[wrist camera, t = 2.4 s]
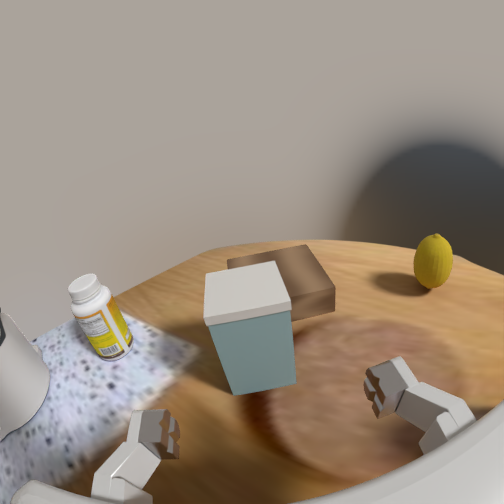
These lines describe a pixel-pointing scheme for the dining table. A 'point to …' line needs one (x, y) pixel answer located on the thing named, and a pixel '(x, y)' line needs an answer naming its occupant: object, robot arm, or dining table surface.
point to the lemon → (433, 261)
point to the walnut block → (298, 279)
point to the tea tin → (251, 326)
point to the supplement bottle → (100, 318)
